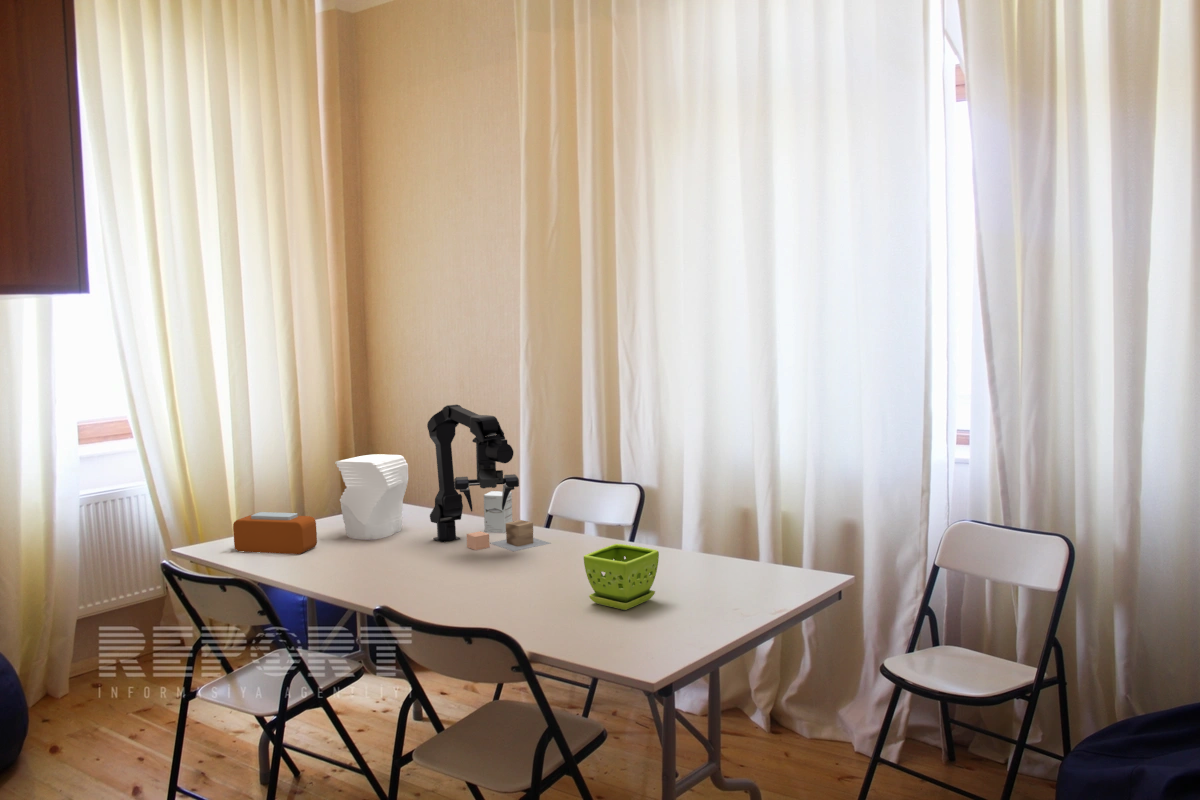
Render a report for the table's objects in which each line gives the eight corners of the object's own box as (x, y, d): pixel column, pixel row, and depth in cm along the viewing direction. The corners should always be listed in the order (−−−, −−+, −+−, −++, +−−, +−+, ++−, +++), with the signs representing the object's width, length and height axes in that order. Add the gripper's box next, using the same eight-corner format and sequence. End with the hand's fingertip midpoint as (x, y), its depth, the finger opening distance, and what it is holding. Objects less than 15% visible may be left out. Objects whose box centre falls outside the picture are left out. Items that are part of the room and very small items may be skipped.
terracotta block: (467, 548, 286) (466, 534, 285) (481, 545, 289) (480, 531, 289) (475, 551, 282) (475, 536, 282) (489, 548, 285) (489, 534, 285)
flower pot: (617, 590, 239) (616, 542, 238) (662, 600, 230) (661, 550, 229) (582, 604, 228) (581, 554, 227) (627, 615, 219) (626, 562, 218)
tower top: (505, 533, 289) (505, 523, 288) (520, 529, 293) (520, 519, 293) (518, 536, 284) (518, 526, 284) (533, 532, 289) (533, 522, 288)
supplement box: (483, 532, 305) (482, 494, 304) (493, 527, 312) (491, 490, 311) (504, 533, 303) (503, 495, 302) (513, 528, 310) (512, 491, 309)
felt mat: (488, 543, 290) (488, 542, 290) (525, 536, 299) (525, 535, 299) (513, 552, 279) (513, 551, 279) (551, 544, 288) (551, 543, 288)
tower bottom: (506, 543, 289) (506, 532, 289) (522, 539, 293) (522, 529, 293) (517, 546, 285) (516, 536, 284) (533, 543, 289) (533, 533, 288)
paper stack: (329, 538, 302) (325, 460, 299) (388, 521, 325) (385, 449, 322) (376, 546, 291) (372, 465, 288) (434, 527, 314) (431, 452, 311)
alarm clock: (317, 548, 291) (315, 512, 290) (303, 555, 283) (301, 518, 282) (250, 545, 296) (248, 510, 295) (234, 552, 288) (231, 516, 287)
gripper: (455, 465, 265) (456, 518, 267) (520, 462, 269) (521, 515, 271) (453, 458, 276) (455, 509, 278) (516, 455, 280) (517, 506, 282)
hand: (487, 510), depth 277 cm, fingers open, 9 cm apart
